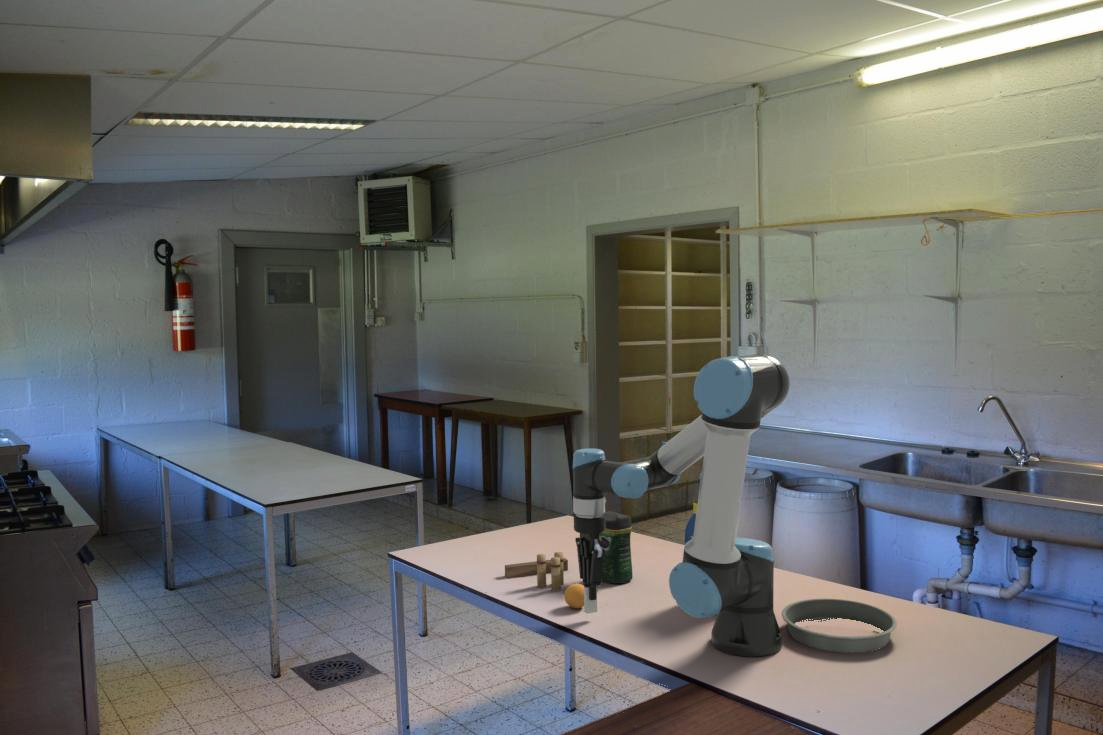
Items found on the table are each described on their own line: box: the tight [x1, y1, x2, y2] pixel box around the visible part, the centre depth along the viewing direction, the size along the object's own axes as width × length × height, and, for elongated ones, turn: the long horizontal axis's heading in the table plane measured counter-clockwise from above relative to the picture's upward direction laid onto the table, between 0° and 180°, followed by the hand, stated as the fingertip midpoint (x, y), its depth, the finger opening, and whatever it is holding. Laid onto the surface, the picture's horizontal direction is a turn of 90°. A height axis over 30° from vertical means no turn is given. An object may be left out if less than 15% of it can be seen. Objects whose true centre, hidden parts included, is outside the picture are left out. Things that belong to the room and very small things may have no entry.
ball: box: [563, 582, 584, 609], centre depth 214 cm, size 6×6×6 cm
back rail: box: [504, 557, 569, 579], centre depth 244 cm, size 2×18×3 cm, turn 110°
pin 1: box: [536, 553, 547, 589], centre depth 232 cm, size 2×2×8 cm
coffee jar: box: [599, 510, 633, 584], centre depth 236 cm, size 10×8×19 cm
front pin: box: [550, 556, 562, 592], centre depth 228 cm, size 2×2×8 cm
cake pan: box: [781, 597, 898, 653], centre depth 194 cm, size 25×25×4 cm
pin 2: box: [553, 551, 565, 586], centre depth 233 cm, size 2×2×8 cm
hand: (590, 611), depth 206 cm, fingers closed
